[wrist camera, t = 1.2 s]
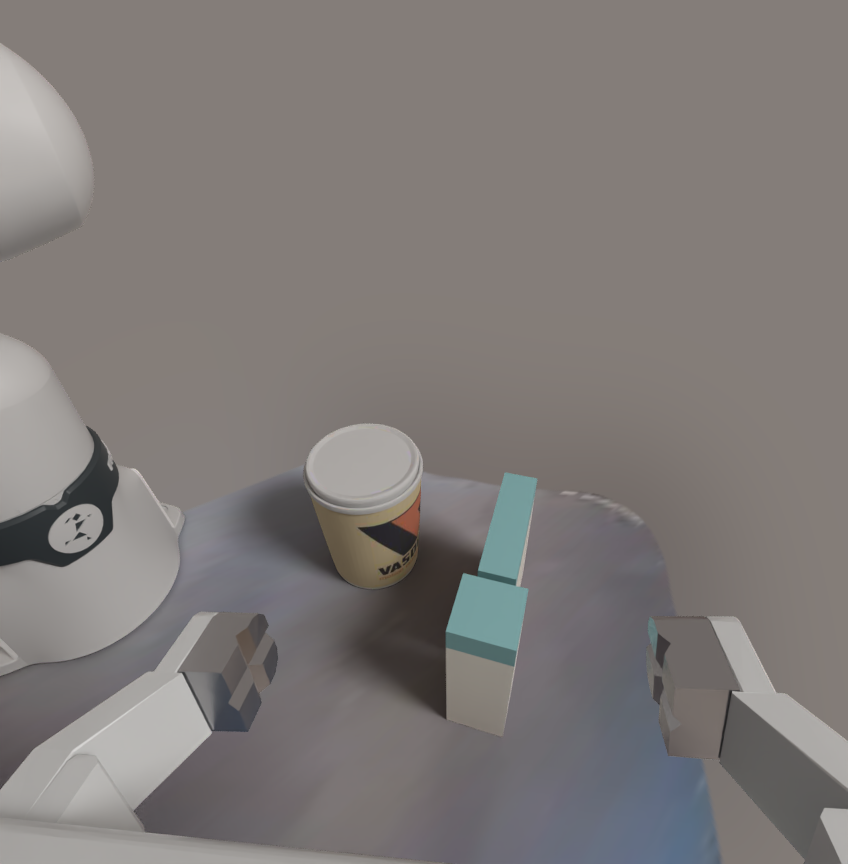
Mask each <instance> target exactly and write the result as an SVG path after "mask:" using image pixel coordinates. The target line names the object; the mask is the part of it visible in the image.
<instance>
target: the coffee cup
mask: <svg viewBox="0 0 848 864" xmlns="http://www.w3.org/2000/svg"><path fill="white" fill-rule="evenodd" d="M422 471H423V461H422V457H421V454H420V451H419V450H418V448H417V446H416V445H415V444H414V442H413V441H412V440H411V439H410V438H409V437H408V436H407V435H405V434H404V433H403V432H401V431H399V430H397V429H395V428H392V427H389V426H386V425H380V424H357V425H351V426H347V427H344V428H341V429H338V430H336V431H334V432H332V433H330V434H328V435H327V436H325V437H324V438H322V439H321V440H320V441H319V442H318V443H317V444H316V445H315V446H314V447H313V448H312V450H311V451H310V453H309V455H308V457H307V460H306V463H305V466H304V470H303V479H304V484H305V487H306V489H307V491H308V493H309V495H310V496H311V499H312V502H313V506H314V508H315V511H316V514H317V517H318V520H319V523H320V525H321V528H322V531H323V534H324V537H325V539H326V542H327V545H328V548H329V550H330V553H331V556H332V559H333V561H334V564H335V566H336V568H337V570H338V572H339V574H340V575H341V576H342V577H343V578H344V579H345V580H346V581H347V582H349V583H350V584H352V585H354V586H356V587H359V588H364V589H382V588H386V587H389V586H392V585H394V584H396V583H398V582H399V581H401V580H402V579H404V578H405V577H406V576H407V575H408V574H409V572H410V571H411V570H412V568H413V567H414V565H415V562H416V559H417V555H418V543H419V521H420V496H421V476H422Z"/></svg>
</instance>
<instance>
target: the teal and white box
mask: <svg viewBox="0 0 848 864" xmlns="http://www.w3.org/2000/svg"><path fill="white" fill-rule="evenodd" d="M536 484H537V479H536V478H531V477H526V476H521V475H516V474H510V473H505V475H504V478H503V481H502V485H501V489H500V492H499V496H498V500H497V503H496V507H495V510H494V514H493V518H492V521H491V525H490V528H489V532H488V536H487V539H486V543H485V546H484V550H483V554H482V557H481V561H480V565H479V568H478V577H481V578H485V579H489V580H493V581H497V582H502V583H506V584H510V585H514V586H518V587H520V585H521V580H522V575H523V569H524V563H525V556H526V550H527V543H528V536H529V530H530V523H531V517H532V510H533V504H534V497H535V491H536Z"/></svg>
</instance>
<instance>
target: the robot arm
mask: <svg viewBox="0 0 848 864" xmlns="http://www.w3.org/2000/svg"><path fill="white" fill-rule="evenodd" d="M93 194H94V169H93V164H92V158H91V154H90V150H89V147H88V144H87V141H86V139H85V136H84V134H83V132H82V130H81V128H80V126H79V124H78V122H77V120H76V118H75V116H74V115H73V113H72V112H71V110H70V109H69V107H68V106H67V104H66V103H65V101H64V100H63V99H62V97H61V96H60V95H59V94H58V92H57V91H56V90H55V89H54V87H53V86H52V85H51V84H50V83H49V82H48V81H47V80H46V79H45V78H44V77H43V76H42V75H41V74H40V73H39V72H38V71H37V70H35V69H34V68H33V67H32V66H31V65H30V64H29V63H28V62H26V61H25V60H24V59H22V58H21V57H20V56H18V55H17V54H16V53H15V52H13V51H12V50H10V49H9V48H7V47H6V46H4V45H2V44H1V43H0V262H2V261H6V260H9V259H12V258H14V257H17V256H19V255H21V254H23V253H26V252H28V251H30V250H33V249H35V248H37V247H40V246H42V245H44V244H46V243H49V242H51V241H53V240H55V239H57V238H59V237H61V236H63V235H66V234H68V233H70V232H72V231H74V230H76V229H78V228H80V227H82V226H83V224H84V222H85V220H86V218H87V216H88V213H89V210H90V208H91V204H92V199H93ZM184 520H185V516H184V514H183V513H182V511H181V510H180V509H179V508H178V507H176V506H172V505H168V504H165V503H161V502H159V501H158V500H157V498H156V497H155V495H154V494H153V492H152V491H151V489H150V487H149V486H148V484H147V483H146V481H145V480H144V478H143V477H142V475H141V474H140V473H139V472H138V471H137V470H136V469H135V468H132V469H129V468H128V467H125V466H121V465H116V464H115V462H114V461H113V458H112V455H111V453H110V451H109V449H108V448H107V446H106V445H105V443H104V442H103V441H102V440H101V439H100V438H99V436H98V435H97V434H96V432H95V431H93V430H92V429H91V428H89V427H88V426H85V425H84V422H83V421H82V419H81V417H80V415H79V414H78V412H77V411H76V409H75V407H74V405H73V403H72V402H71V400H70V398H69V396H68V395H67V393H66V391H65V390H64V388H63V386H62V384H61V383H60V381H59V379H58V378H57V376H56V374H55V372H54V371H53V369H52V367H51V366H50V364H49V362H48V361H47V360H46V359H45V358H44V357H43V356H42V355H41V354H40V353H39V352H38V351H36V350H35V349H34V348H32V347H31V346H29V345H28V344H26V343H24V342H22V341H20V340H18V339H16V338H13V337H11V336H7V335H5V334H2V333H0V676H2V675H5V674H8V673H10V672H13V671H15V670H18V669H20V668H23V667H25V666H28V665H32V664H37V663H49V662H60V661H66V660H71V659H75V658H79V657H82V656H86V655H88V654H91V653H94V652H96V651H98V650H101V649H103V648H105V647H107V646H109V645H111V644H113V643H114V642H116V641H118V640H119V639H121V638H123V637H124V636H126V635H127V634H129V633H130V632H131V631H133V630H134V629H135V628H137V627H138V626H139V625H140V624H141V623H143V622H144V621H145V620H146V619H147V618H148V617H149V616H150V615H151V614H152V613H153V612H154V611H155V610H156V609H157V608H158V606H159V605H160V604H161V603H162V601H163V600H164V599H165V597H166V596H167V594H168V593H169V591H170V589H171V588H172V585H173V583H174V581H175V579H176V576H177V573H178V569H179V564H180V552H179V545H178V537H179V534H180V532H181V529H182V527H183V524H184ZM268 626H269V625H268V622H267V620H266V618H265V616H264V615H263V614H258V613H231V612H199V613H198V614H196V615H194V616H193V617H192V619H191V620H190V621H189V623H188V624H187V626H186V627H185V629H184V630H183V631H182V633H181V634H180V636H179V637H178V638H177V640H176V641H175V643H174V644H173V646H172V647H171V648H170V650H169V651H168V653H167V654H166V655H165V657H164V658H163V660H162V661H161V662H160V664H159V665H158V667H157V668H156V670H155V671H154V672H147V673H145V674H144V675H142V676H141V677H139V678H138V679H136V680H135V681H133V682H132V683H130V684H129V685H127V686H126V687H124V688H123V689H122V690H120V691H119V692H117V693H116V694H114V695H113V696H111V697H110V698H108V699H107V700H105V701H104V702H102V703H101V704H99V705H98V706H96V707H95V708H93V709H92V710H91V711H89V712H88V713H86V714H85V715H83V716H82V717H80V718H79V719H77V720H76V721H74V722H73V723H71V724H70V725H68V726H67V727H65V728H64V729H62V730H61V731H60V732H58V733H57V734H55V735H54V736H52V737H51V738H49V739H48V740H46V741H45V742H43V743H42V744H40V745H39V746H37V747H36V748H34V749H33V751H32V752H31V753H30V754H29V755H28V757H27V758H26V759H25V760H24V762H23V763H22V764H21V765H20V766H19V768H18V769H17V770H16V771H15V773H14V774H13V775H12V776H11V777H10V779H9V780H8V781H7V782H6V784H5V785H4V786H3V787H2V788H1V790H0V864H451V863H441V862H432V861H422V860H412V859H402V858H392V857H383V856H373V855H363V854H353V853H343V852H333V851H323V850H314V849H304V848H294V847H284V846H274V845H265V844H255V843H245V842H235V841H225V840H216V839H206V838H196V837H186V836H177V835H167V834H157V833H147V832H145V829H144V826H143V824H142V823H141V822H140V820H139V819H138V817H137V816H136V814H135V813H134V811H133V810H134V809H135V808H136V807H137V806H138V805H139V804H140V803H141V802H142V801H143V800H144V799H145V798H146V797H148V796H149V795H150V794H151V793H152V792H153V791H154V790H155V789H156V788H157V787H158V786H159V785H160V784H161V783H162V782H163V781H164V780H165V779H166V778H167V777H168V776H169V775H170V774H171V773H172V772H173V771H174V770H175V769H176V768H177V767H178V766H179V765H180V764H181V763H182V762H183V761H184V760H185V759H186V758H187V757H188V756H189V755H190V754H191V753H192V752H193V751H194V750H195V749H196V748H197V747H198V746H199V745H200V744H201V743H202V742H203V741H204V740H205V739H207V738H208V737H209V736H210V735H211V734H212V732H211V731H236V732H248V731H249V729H250V727H251V725H252V723H253V721H254V718H255V716H256V714H257V712H258V710H259V708H260V706H261V703H262V702H261V698H260V692H262V691H263V690H264V689H265V688H266V687H268V686H269V685H270V684H271V682H272V679H273V677H274V675H275V672H276V667H277V661H278V653H277V646H276V644H275V641H274V639H272V638H271V637H270V636H269V635H268V634H266V633H265V632H266V630H267V628H268ZM648 634H649V637H650V641H651V644H650V645H648V646H647V649H646V664H647V675H648V680H649V686H650V690H651V694H652V698H653V699H654V700H655V701H656V702H657V703H658V704H659V705H660V709H659V724H660V728H661V731H662V735H663V738H664V742H665V746H666V749H667V753H668V756H676V757H688V758H700V759H712V760H720V762H719V763H720V764H721V765H722V766H723V767H724V768H725V770H726V771H727V772H728V773H729V774H730V775H731V776H732V778H733V779H734V780H735V781H736V782H737V783H738V784H739V786H741V788H742V789H743V790H744V791H745V792H746V793H747V795H748V796H749V797H750V798H751V799H752V800H753V801H754V803H755V804H756V805H757V806H758V807H759V808H760V809H761V810H762V812H763V813H764V814H765V815H766V816H767V817H768V818H769V820H770V821H771V822H772V823H773V824H774V825H775V826H776V828H777V829H778V830H779V831H780V832H781V833H782V834H783V835H784V836H785V838H786V839H787V840H788V841H789V842H790V843H791V844H792V845H793V847H794V848H795V849H796V850H797V851H798V853H799V854H800V855H801V856H802V857H803V858H804V859H805V862H804V864H848V741H847V740H846V739H844V738H843V737H841V736H840V735H839V734H838V733H837V732H835V731H834V730H832V729H831V728H830V727H829V726H827V725H826V724H825V723H823V722H822V721H821V720H820V719H818V718H817V717H816V716H814V715H813V714H812V713H810V712H809V711H808V710H807V709H805V708H804V707H803V706H801V705H800V704H799V703H797V702H796V701H795V700H794V699H792V698H791V697H790V696H788V695H787V694H786V693H785V694H784V693H776V691H775V690H774V688H773V685H772V683H771V681H770V680H769V678H768V676H767V674H766V672H765V670H764V668H763V666H762V664H761V662H760V660H759V658H758V656H757V654H756V652H755V650H754V648H753V646H752V644H751V642H750V640H749V638H748V636H747V634H746V633H745V630H744V628H743V627H742V625H741V623H740V621H739V620H738V619H737V618H736V617H735V616H733V617H732V616H731V617H730V616H729V617H727V616H724V617H722V616H706V617H704V616H650V618H649V621H648Z"/></svg>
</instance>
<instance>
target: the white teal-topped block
mask: <svg viewBox="0 0 848 864" xmlns="http://www.w3.org/2000/svg"><path fill="white" fill-rule="evenodd" d="M527 594H528V589H526V588H522V587H518V586H514V585H510V584H506V583H502V582H497V581H493V580H489V579H485V578H481V577H477V576H473V575H469V574H465V573H463V576H462V579H461V582H460V586H459V589H458V592H457V596H456V599H455V602H454V606H453V609H452V612H451V616H450V619H449V622H448V626H447V629H446V710H447V720H450V721H453V722H456V723H459V724H462V725H465V726H468V727H471V728H475V729H478V730H481V731H484V732H487V733H490V734H493V735H497V736H500V737H503V732H504V727H505V721H506V716H507V710H508V705H509V699H510V694H511V688H512V683H513V677H514V671H515V665H516V659H517V653H518V647H519V642H520V636H521V630H522V624H523V618H524V612H525V606H526V600H527Z"/></svg>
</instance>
